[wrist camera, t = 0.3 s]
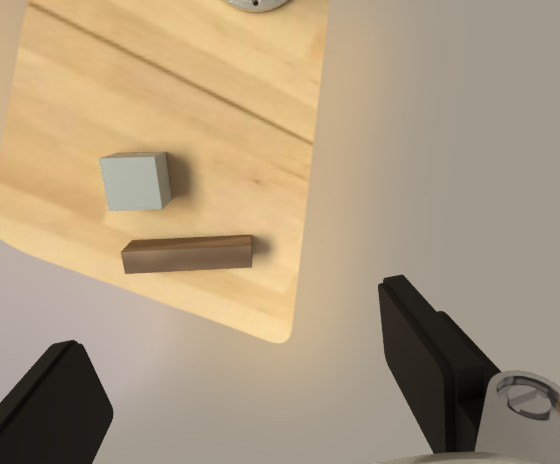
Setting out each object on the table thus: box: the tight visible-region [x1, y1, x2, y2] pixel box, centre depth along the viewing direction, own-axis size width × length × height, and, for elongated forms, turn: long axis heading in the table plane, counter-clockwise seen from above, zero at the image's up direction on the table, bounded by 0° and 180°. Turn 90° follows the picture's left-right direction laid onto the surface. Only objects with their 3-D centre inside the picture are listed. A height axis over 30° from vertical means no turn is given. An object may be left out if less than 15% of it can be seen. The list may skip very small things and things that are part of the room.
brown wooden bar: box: [121, 235, 252, 274], centre depth 45 cm, size 3×16×4 cm, turn 92°
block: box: [99, 152, 172, 211], centre depth 41 cm, size 6×6×5 cm
